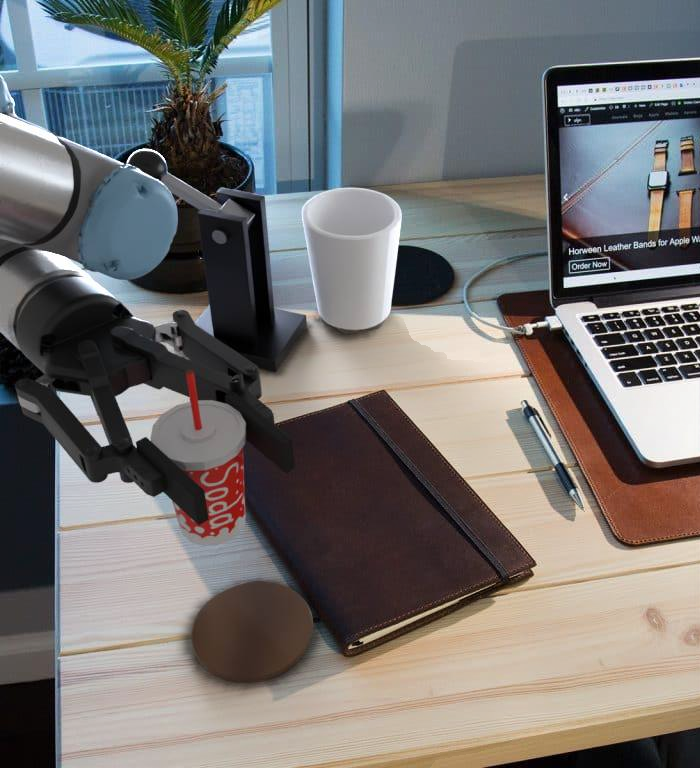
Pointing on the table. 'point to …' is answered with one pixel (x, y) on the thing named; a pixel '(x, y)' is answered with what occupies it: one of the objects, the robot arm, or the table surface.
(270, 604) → the coaster
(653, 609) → the table surface
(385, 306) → the cup
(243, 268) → the switch bracket
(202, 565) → the table surface
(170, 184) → the switch lever
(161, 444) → the beverage cup
